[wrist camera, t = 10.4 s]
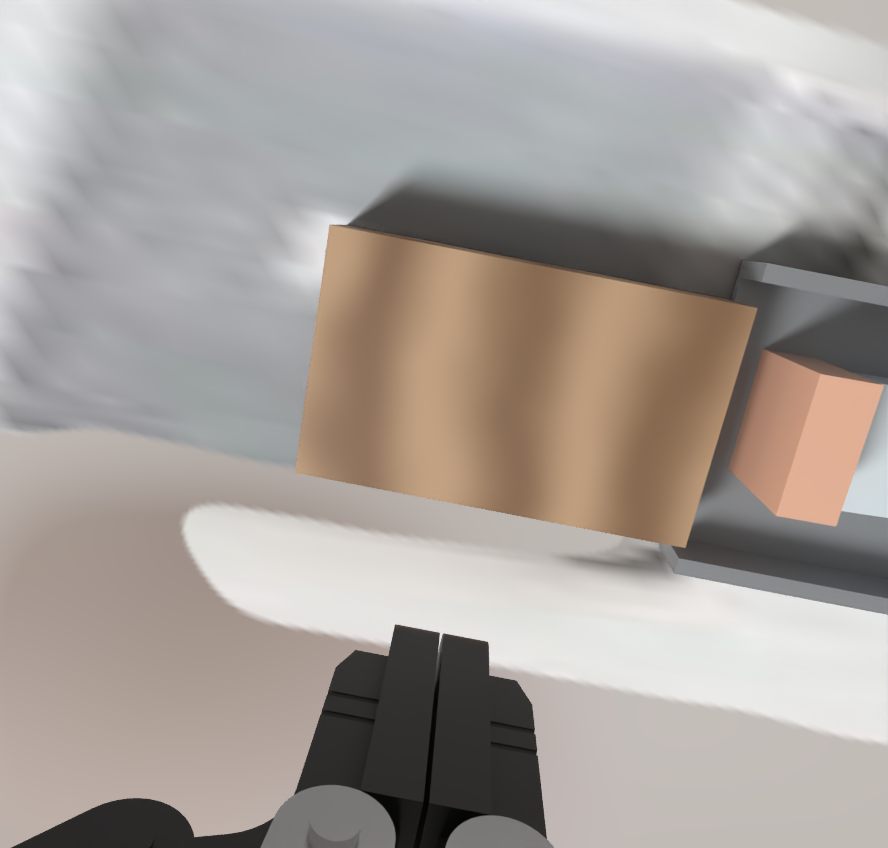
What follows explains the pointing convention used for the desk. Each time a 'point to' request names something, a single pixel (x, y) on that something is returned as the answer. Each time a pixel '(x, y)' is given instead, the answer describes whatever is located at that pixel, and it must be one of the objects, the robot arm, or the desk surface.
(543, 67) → the desk surface
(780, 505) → the tile
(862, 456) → the tile
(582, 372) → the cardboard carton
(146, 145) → the desk surface
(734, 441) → the box
